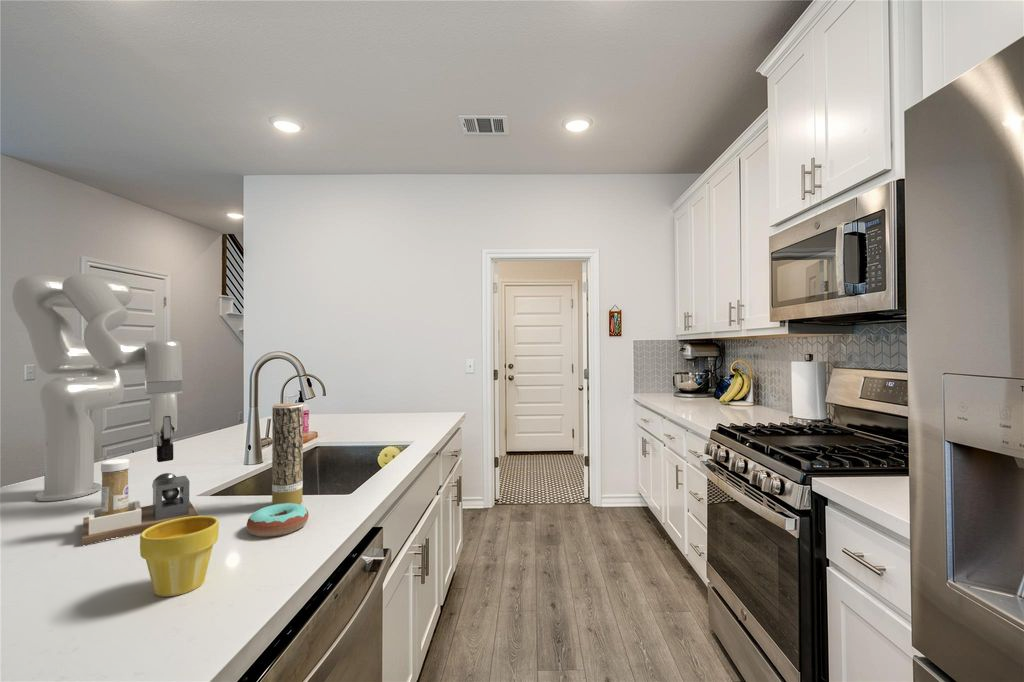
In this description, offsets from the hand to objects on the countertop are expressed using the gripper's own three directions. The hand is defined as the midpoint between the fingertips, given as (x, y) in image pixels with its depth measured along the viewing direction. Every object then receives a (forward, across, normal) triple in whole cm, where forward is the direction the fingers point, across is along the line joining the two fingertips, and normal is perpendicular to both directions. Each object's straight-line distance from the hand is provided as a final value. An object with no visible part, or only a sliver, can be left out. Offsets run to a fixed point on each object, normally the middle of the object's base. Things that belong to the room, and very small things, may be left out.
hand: (165, 460), depth 114 cm
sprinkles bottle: (+10, +14, -10) cm, 20 cm away
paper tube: (+12, +23, +22) cm, 34 cm away
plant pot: (+12, +52, -3) cm, 54 cm away
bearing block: (+10, +16, -1) cm, 18 cm away
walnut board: (+11, +13, -6) cm, 18 cm away
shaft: (+7, +10, -1) cm, 13 cm away
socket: (+9, +15, -10) cm, 20 cm away
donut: (+12, +37, +16) cm, 42 cm away
